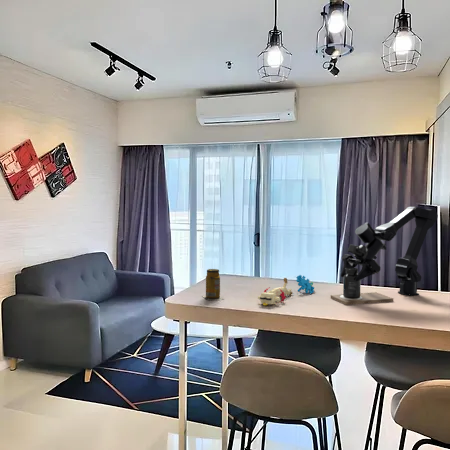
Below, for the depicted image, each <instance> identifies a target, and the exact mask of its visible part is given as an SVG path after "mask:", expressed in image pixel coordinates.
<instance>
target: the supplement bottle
mask: <svg viewBox="0 0 450 450" xmlns="http://www.w3.org/2000/svg"><path fill="white" fill-rule="evenodd" d="M358 274H359V268H357V267H354V268H346V274H345V275H344V277H342V278H343V279H342V280H343V281H342V283H343V284H342V285H343V287H342V288H343V289H342V291H343V296H344V297H345V298H350V299H357V298H360V293H361V280H362V279H361V280H359V281H356V280H355V279H356V277H357V275H358Z"/></svg>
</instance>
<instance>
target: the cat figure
mask: <svg viewBox="0 0 450 450" xmlns="http://www.w3.org/2000/svg"><path fill="white" fill-rule="evenodd" d="M283 282H284V283H283V286H282V287H280V286H279V287H275V288H272V289H271V290H269V289H270V288H271V287H270V286H269V287H267V288H266V289H264V291H263V292H262V293H260V295H258V296H257V299H258V300H260V303H261V304H262V305H263V306H268V305H276V304H277V303H282V302H283V301H285V300H286V298H287V297H286V295H287V296H292V295H293V294H294V293H293V291H292V289H291V288H288V289H287V286H288V278H287V277H283ZM268 290H269V291H268ZM267 291H268V292H267ZM279 296H280V297H279Z"/></svg>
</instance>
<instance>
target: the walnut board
mask: <svg viewBox="0 0 450 450" xmlns="http://www.w3.org/2000/svg"><path fill="white" fill-rule="evenodd" d="M330 299H331V300H334V301H336V302H338V303H340V304H342V305H345V306H348V305H362V304H363V305H364V304H377V303H378V304H379V303H389V302H390V303H392V302H394V298H392V297H391V296H388V295H385V294H382V293H379V292H376V291H375V292H373V291H372V292H360V298H357V299H350V298H345V297H344V296H343V294H342V293H341V294H331V295H330Z"/></svg>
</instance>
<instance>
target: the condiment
mask: <svg viewBox="0 0 450 450" xmlns="http://www.w3.org/2000/svg"><path fill="white" fill-rule="evenodd" d="M220 276H221V275H220V270H219V269H217V268H208V269H206V276H205V295H202V297H203V299H205V300H207V301H220V300H221V301H222V300H225V298H224V297H222V296H221V277H220Z"/></svg>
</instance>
